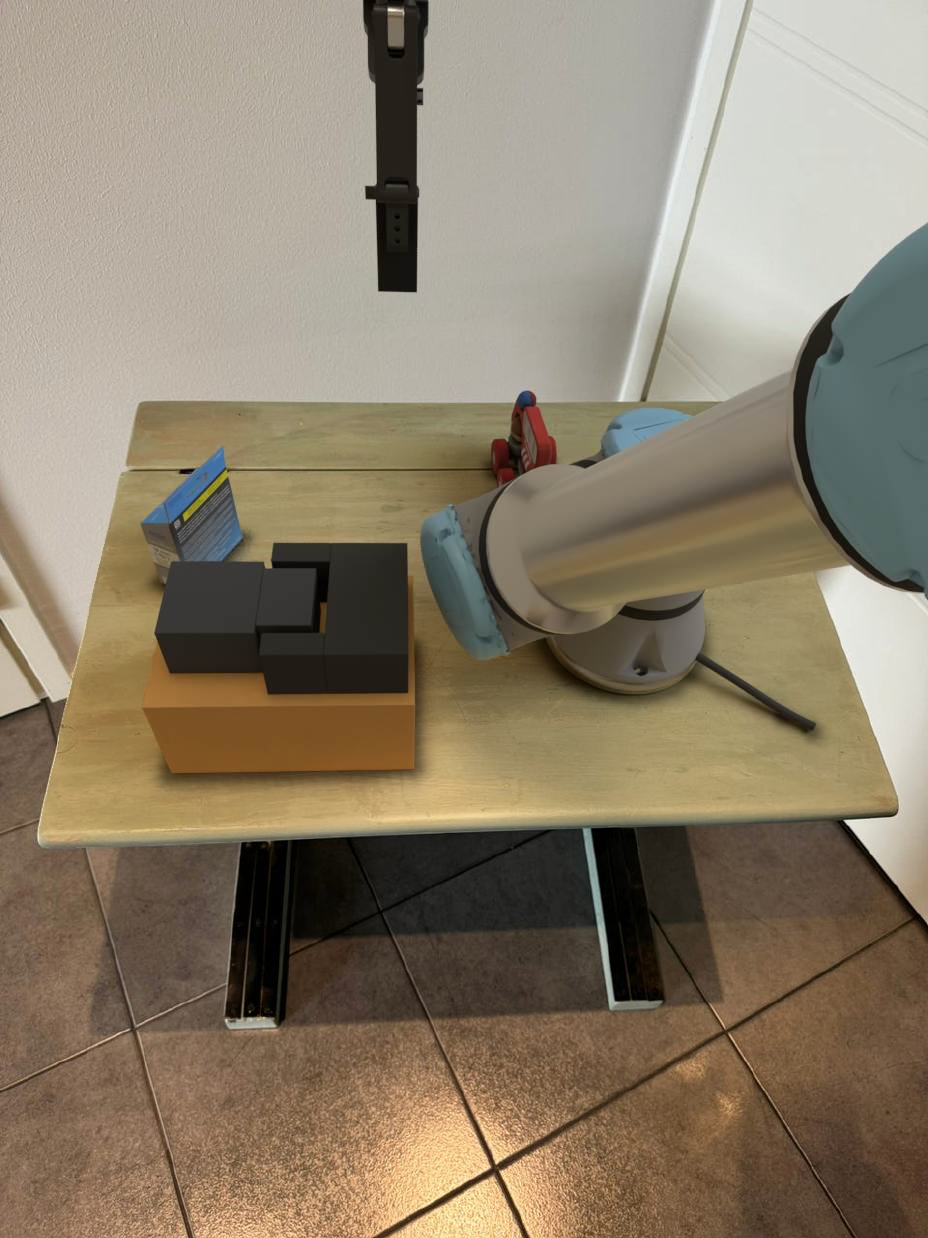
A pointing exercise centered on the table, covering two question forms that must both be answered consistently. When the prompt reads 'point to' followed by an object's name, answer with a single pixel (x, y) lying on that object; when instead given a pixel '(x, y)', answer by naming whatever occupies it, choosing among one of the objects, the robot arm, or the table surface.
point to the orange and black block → (306, 679)
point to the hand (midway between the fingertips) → (397, 241)
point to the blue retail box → (194, 519)
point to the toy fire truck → (523, 442)
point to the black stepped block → (231, 613)
